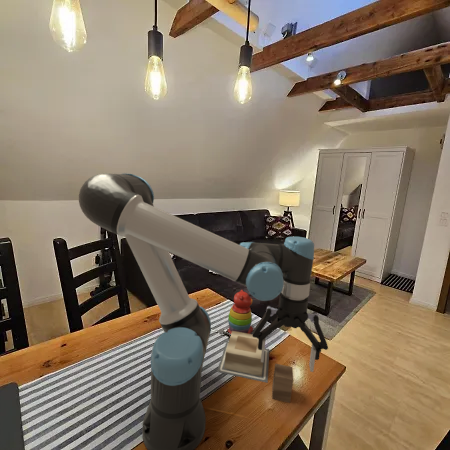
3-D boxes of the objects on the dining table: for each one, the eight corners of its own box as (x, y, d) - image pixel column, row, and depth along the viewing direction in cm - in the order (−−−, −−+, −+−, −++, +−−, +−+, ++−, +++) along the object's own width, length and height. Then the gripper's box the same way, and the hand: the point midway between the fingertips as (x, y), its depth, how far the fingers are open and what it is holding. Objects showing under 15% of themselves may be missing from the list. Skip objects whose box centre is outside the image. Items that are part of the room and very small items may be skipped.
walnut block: (289, 404, 72) (293, 379, 70) (271, 400, 73) (274, 375, 71) (289, 390, 76) (292, 367, 75) (272, 386, 77) (275, 363, 76)
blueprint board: (267, 384, 78) (267, 382, 78) (216, 372, 81) (216, 371, 81) (269, 350, 94) (269, 349, 94) (226, 342, 97) (226, 340, 96)
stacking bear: (250, 344, 96) (255, 300, 93) (224, 339, 98) (228, 296, 95) (253, 328, 107) (257, 288, 104) (229, 324, 109) (232, 285, 105)
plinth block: (261, 376, 80) (263, 359, 79) (224, 368, 83) (225, 351, 81) (263, 351, 92) (265, 336, 91) (230, 345, 94) (232, 330, 93)
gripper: (339, 294, 70) (329, 362, 74) (249, 282, 75) (244, 347, 79) (347, 307, 63) (335, 382, 67) (246, 293, 67) (241, 364, 71)
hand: (286, 363), depth 73 cm, fingers open, 13 cm apart
